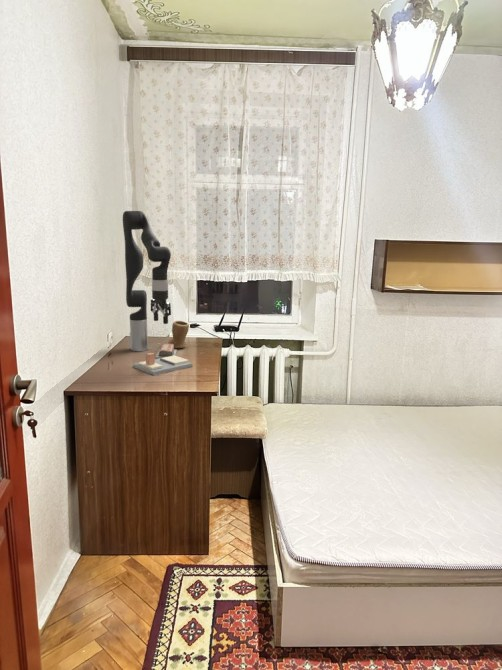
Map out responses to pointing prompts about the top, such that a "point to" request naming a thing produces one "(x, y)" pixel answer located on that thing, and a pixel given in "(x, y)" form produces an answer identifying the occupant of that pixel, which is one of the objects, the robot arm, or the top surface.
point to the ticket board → (166, 365)
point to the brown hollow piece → (179, 334)
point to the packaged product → (166, 351)
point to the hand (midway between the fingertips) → (160, 322)
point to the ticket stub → (150, 362)
